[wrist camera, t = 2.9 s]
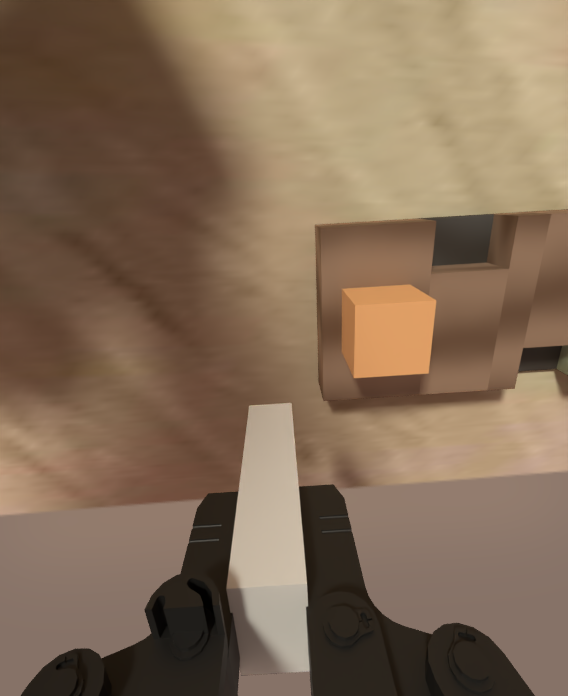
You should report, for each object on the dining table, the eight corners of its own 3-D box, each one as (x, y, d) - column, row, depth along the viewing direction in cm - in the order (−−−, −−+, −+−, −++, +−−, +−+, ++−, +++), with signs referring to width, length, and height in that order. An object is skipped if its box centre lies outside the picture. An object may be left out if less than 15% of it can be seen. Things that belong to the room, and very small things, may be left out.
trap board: (315, 224, 24) (324, 229, 20) (693, 201, 25) (779, 201, 21) (318, 381, 29) (326, 412, 25) (638, 361, 29) (699, 387, 25)
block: (341, 288, 23) (355, 305, 19) (410, 284, 23) (436, 300, 19) (341, 351, 25) (353, 378, 21) (405, 347, 25) (428, 373, 21)
